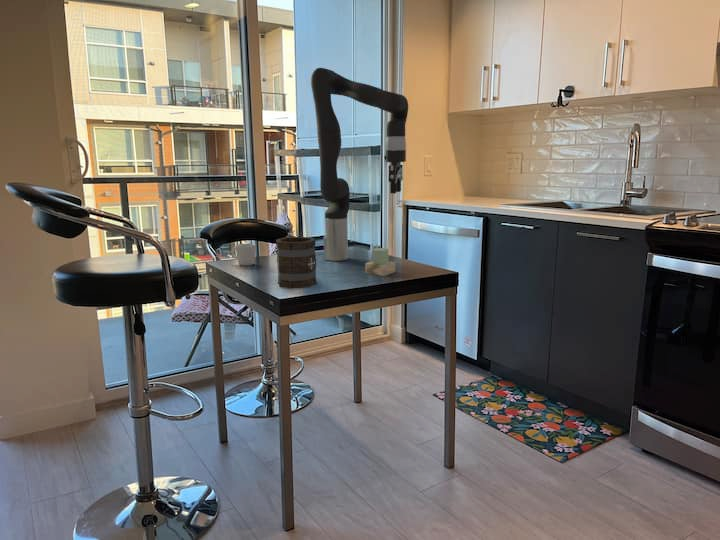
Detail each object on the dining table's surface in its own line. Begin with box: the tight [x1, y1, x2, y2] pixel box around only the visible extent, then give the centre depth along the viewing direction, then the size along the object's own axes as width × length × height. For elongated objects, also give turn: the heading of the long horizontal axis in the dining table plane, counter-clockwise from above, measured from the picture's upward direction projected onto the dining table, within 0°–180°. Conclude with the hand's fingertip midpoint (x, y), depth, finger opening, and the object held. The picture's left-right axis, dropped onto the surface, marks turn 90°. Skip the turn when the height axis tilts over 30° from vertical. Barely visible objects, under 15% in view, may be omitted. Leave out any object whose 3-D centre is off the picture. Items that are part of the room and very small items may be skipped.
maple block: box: [364, 260, 396, 277], centre depth 191 cm, size 8×8×4 cm
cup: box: [230, 243, 257, 267], centre depth 207 cm, size 11×8×8 cm
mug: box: [275, 236, 318, 289], centre depth 177 cm, size 20×14×15 cm
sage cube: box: [371, 247, 389, 264], centre depth 190 cm, size 5×5×5 cm
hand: (395, 192), depth 199 cm, fingers open, 8 cm apart
